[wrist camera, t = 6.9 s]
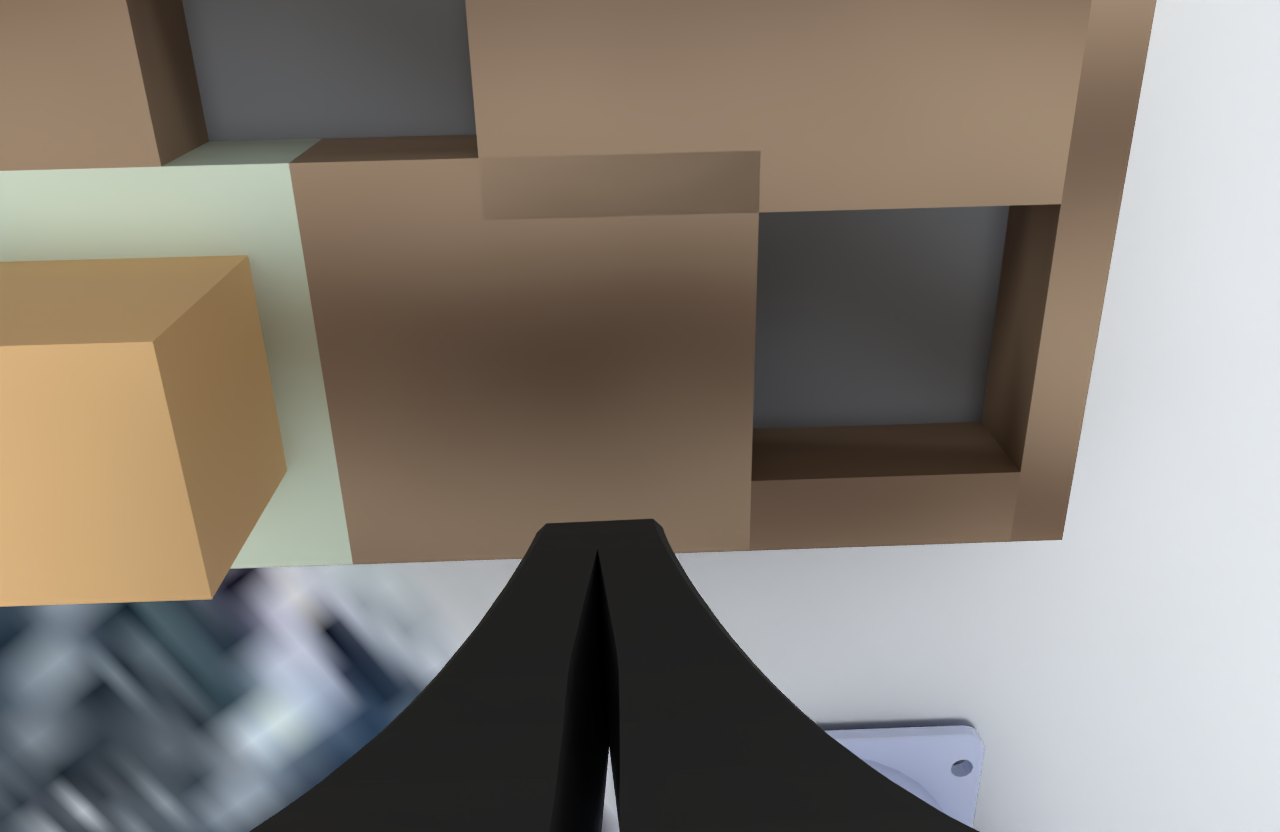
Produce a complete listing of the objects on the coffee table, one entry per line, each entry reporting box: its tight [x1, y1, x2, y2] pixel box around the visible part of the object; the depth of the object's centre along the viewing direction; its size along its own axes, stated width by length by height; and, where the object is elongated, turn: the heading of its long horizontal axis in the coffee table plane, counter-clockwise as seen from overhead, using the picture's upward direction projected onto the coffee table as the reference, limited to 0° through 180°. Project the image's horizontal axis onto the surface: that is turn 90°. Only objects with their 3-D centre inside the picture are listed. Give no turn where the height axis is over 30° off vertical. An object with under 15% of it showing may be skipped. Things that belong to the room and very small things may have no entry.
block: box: [0, 255, 287, 607], centre depth 16 cm, size 4×4×4 cm
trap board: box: [0, 0, 1156, 569], centre depth 18 cm, size 14×19×2 cm
